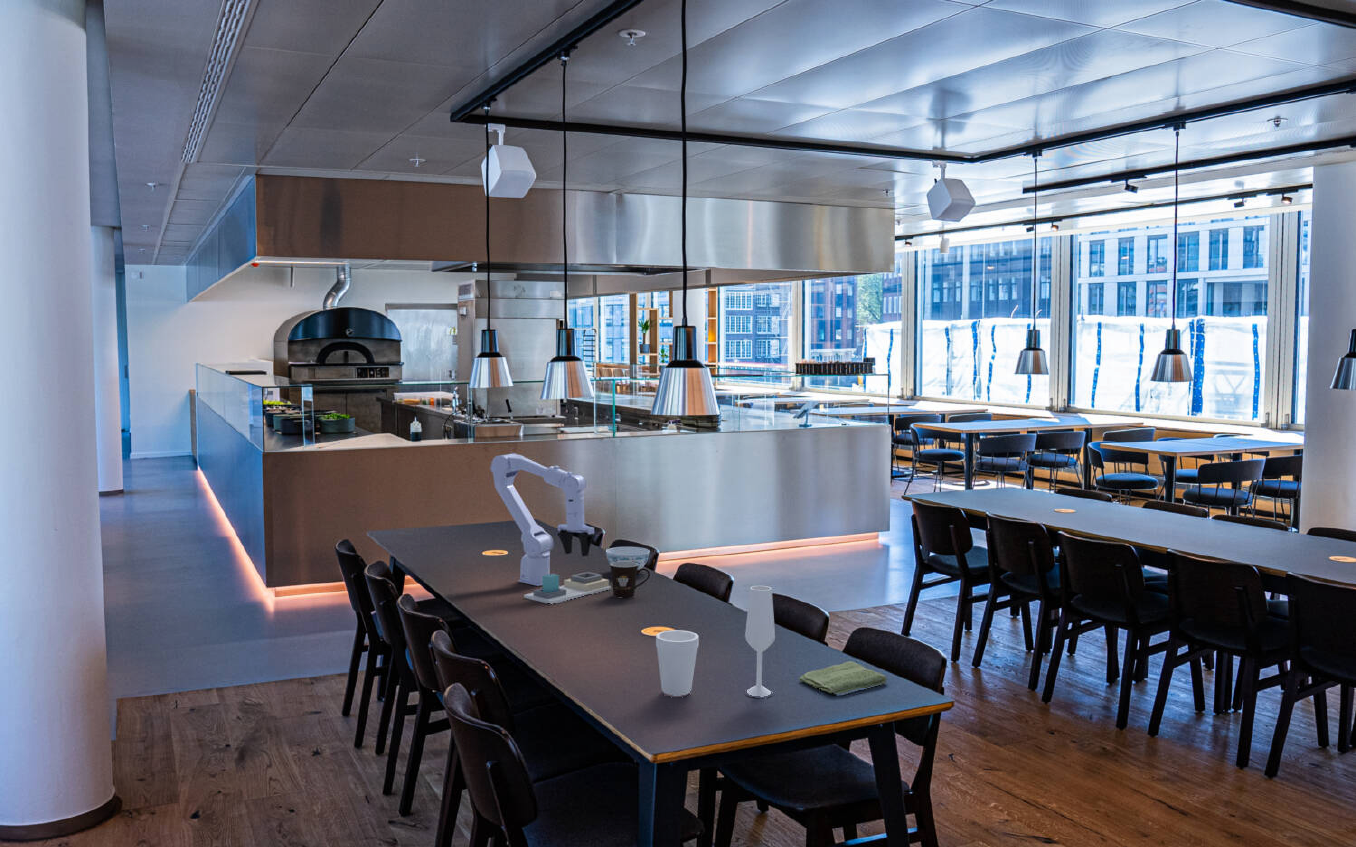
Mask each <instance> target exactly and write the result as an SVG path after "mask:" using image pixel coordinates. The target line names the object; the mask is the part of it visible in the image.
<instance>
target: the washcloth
mask: <svg viewBox="0 0 1356 847" xmlns="http://www.w3.org/2000/svg"><path fill="white" fill-rule="evenodd" d="M798 680H799V682H802V681H803V682H805V683H808V684H810V685H809V686H811V685H812V686H811V687H814V689H817V688H819V689H818V690H820V689H821V691H823V692H824V691H825V692H828V693H829V694H832V693H837V694H841V693H846V692H849V691H851V690H855V689H859V688H868V687H871V686H874V685H875V686H876V685H879V684H884V683H885V684H886V683H887V681H888V678H887V676H886V675H884V674H882V673H880V672H877V671H875V670H873V669H868V668H866V667H864V666H863V665H861V664H859V663H856V662H855V661H852V660H851V661H850V660H849V661H846V662H843V663H842V664H834V665H831V666H829V667H824V668H820V669H816V670H811V671H808V672H807V671H806V673H804V674H803V675H801V676H800V677H799V678H798ZM805 683H804V684H805ZM808 684H807V685H808ZM885 684H884V685H885Z"/></svg>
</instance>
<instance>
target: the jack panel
mask: <svg viewBox="0 0 1356 847" xmlns="http://www.w3.org/2000/svg"><path fill="white" fill-rule="evenodd" d="M563 583H564V584H563V585H561V586H560V585H559V591H555V592H550V593H546V592H543V588H539V589H534V590H533V592H531V593H530V592H529V593H527V594H524V599H527V600H530V601H531V600H532V601H536V602H541V603H542V604H543V603H544V604H547V603H550V604H549V605H551V604H552V605H554V604H553V603H556V604H559V603H564V602H568V601H571V600H570V599H572V600H575V599H574V598H576V599H579V598H578V597H580V598H582V597H581V596H584V595H587V594H592V595H595V594H594V593H596V594H598V593H599V592H600V593H603V592H602V591H604V592H607V591H606V590H608V591H610V590H609V589H611V590H612V586H610V585H609V584H610V580H609V579H608V578H607V579H606V578H603V575H602V574H599V573H594V572H589V571H587V572H582V573H578V574H573V575H570V578H568V579H564V580H563ZM584 597H585V596H584ZM567 600H568V601H567Z"/></svg>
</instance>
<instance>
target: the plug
mask: <svg viewBox="0 0 1356 847" xmlns="http://www.w3.org/2000/svg"><path fill="white" fill-rule="evenodd" d="M559 587H560V575H559V574H555V573H551V574H549V575H544V576H543V585H542V589H543V592H546V593H550V592H555V591H559Z"/></svg>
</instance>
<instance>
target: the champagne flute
mask: <svg viewBox="0 0 1356 847" xmlns="http://www.w3.org/2000/svg"><path fill="white" fill-rule="evenodd" d="M749 589H750V590H749V598H748V606H747V615H746V624H745V634H744V638H745V640H746V642H747V643H748V645H749V646H750V647H751V648H752V649H753V650H754V651H756V677H755V678H756V682H755V684H756V685H754V686H752V687H749V689H746V690H747V693H748V694H749V695H752V696H760V697H764V696H768V695H770V694H771V692H772V691H771V690H770V689H767V688H766V687H764V686H763V685H762V684H763V683H762V679H763V678H762V677H763V676H762V675H763V652H764V651H765V650H767V649H768V648H769V647H770V646H771V645H772V644H773V643H774V641H775V640H776V633H775V618H774V617H775V616H774V603H773V591H772V590H773V589H772V587H770V586H767V585H754V586H750V588H749Z"/></svg>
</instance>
